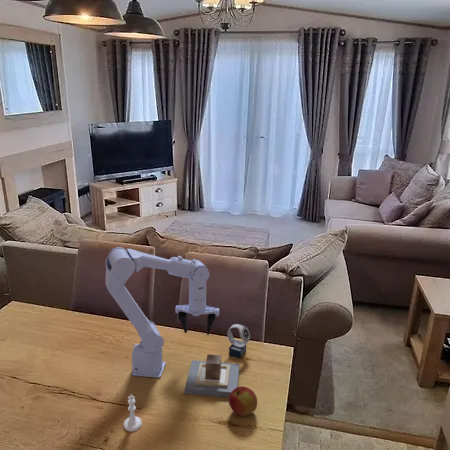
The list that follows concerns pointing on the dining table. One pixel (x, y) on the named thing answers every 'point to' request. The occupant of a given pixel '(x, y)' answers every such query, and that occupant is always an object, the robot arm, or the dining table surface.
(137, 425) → the chess piece
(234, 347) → the watch
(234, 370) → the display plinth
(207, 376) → the walnut block
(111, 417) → the dining table surface
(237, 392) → the apple
